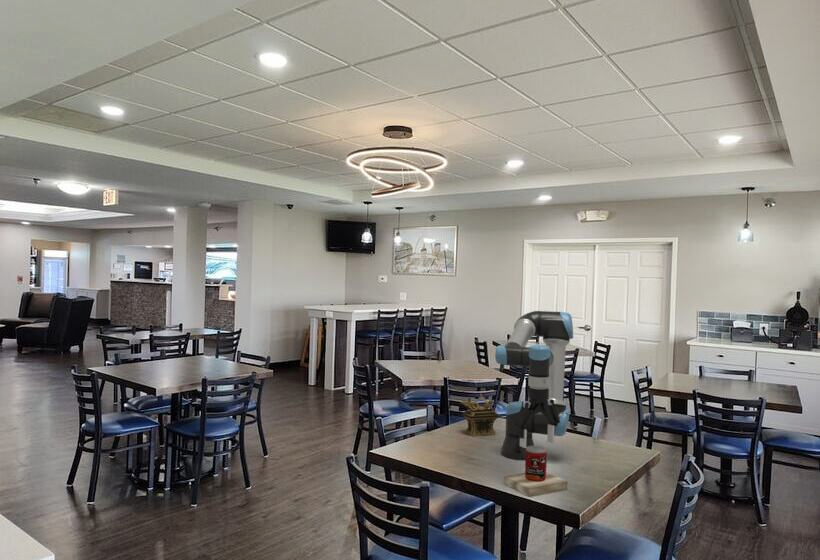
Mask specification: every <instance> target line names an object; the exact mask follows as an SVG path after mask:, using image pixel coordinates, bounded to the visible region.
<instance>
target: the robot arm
mask: <svg viewBox="0 0 820 560" xmlns="http://www.w3.org/2000/svg"><path fill="white" fill-rule="evenodd" d="M572 318H573V317H572V314H570V313H569V312H565V311H550V310H549V311H546V310H545V311H543V310H533V311H530V312H527V313H525V314H523V315H522V316H520V317H519V318H518V319H517V320H516V321H515V323H514V326H513V330H512V331H513V332H512V333H511V334H510V337H509V338H508V340H507V342H506V344H502V345H500V344H499V345H497V346H496V348H495V354H494V355H495V361H496V364H498V365H504V366H517V367H518V366H519V367H528V388H527V396H528V397H527V398H528V400H520V401H513V402H510V403H508V404H507V405H506V413H505V416H506V417H505V436H504V441H503V443H502V446H501V449H500V455H502V456H503V457H504V458H508V459H513V460H518V461H519V460H520V461H525V453H526V447H528V446H535V443H534V439H533V434H538V435H546V436H547V442H548V443H551V444H554V443H555V437H563V436H565V434H566V433H567V428H568V426H569V419H570V409H568V408H567V404H566V403H565V401H564V386H565V385H564V384H565V369H566V368H565V366H566V364H565V363H566V349H567V345H569V344H570V341H571V340H572V339H574V326H573V325H574V324H573V319H572ZM533 337H542V342H543V343H544V344H545V345H543V344H534V345H531V346H528V347H527V345H528V343H529V341H530V339H531V338H533Z"/></svg>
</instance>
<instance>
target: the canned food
mask: <svg viewBox="0 0 820 560" xmlns="http://www.w3.org/2000/svg"><path fill="white" fill-rule="evenodd" d="M547 458H548V450H547V448H546V447H544V446H542V445H539V446H538V445H534V446H528V447H526V453H525V460H524V461H525V464H524V473H525V477H526V479H528V480H530V481H536V482H540V481H544V480H545V479H546V472H547V462H548V461H547V460H548V459H547Z"/></svg>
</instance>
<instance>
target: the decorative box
mask: <svg viewBox="0 0 820 560" xmlns="http://www.w3.org/2000/svg"><path fill="white" fill-rule="evenodd" d="M482 394H483V393H480V394H479V395H480V398H481V399H482V400H483V402H484V405H483V406H480V405H479V403H478V402H477V401H471V397H470V396H468V399H467V400H466V401H465V400H464V401H463V400H461V401H460V403H461V404H463V405H464V406H465V407H468V408H470V409H466V410H465V411H463V412H462V416H463V417H464V418H465V420H466V421H467V428H466V430H465V433H466V434H468V435H470V436H471V437H481V436H494V435H495V434H496V431H495V430H494V423H495V421H496V420H497V419H498V418H499V417H500V414H499V412H496V410H494V408H493V406H492V403H493V399H492V398H489V399H488V401H487V400H486V399H485V398H484V397H483V396H482Z"/></svg>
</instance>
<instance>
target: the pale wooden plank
mask: <svg viewBox="0 0 820 560" xmlns="http://www.w3.org/2000/svg"><path fill="white" fill-rule="evenodd" d="M503 480H504V481H503V484H504V485H505V486H507V487H510V489H513V490H514V491H517V492H519V493H522V494H523V495H525V496H527V497H529V498H532V497H537V496H541V495H547V494H552V493H556V492H561V491H565V490H568V480H565V479H563V478H562V477H558V476H556V475H553V474H552V473H549V472H547V471H546V479H545V480H544V481H540V482H536V481H530V480H528V479H526V477H525V472H521V473H515V474H510V475H504V479H503Z"/></svg>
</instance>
